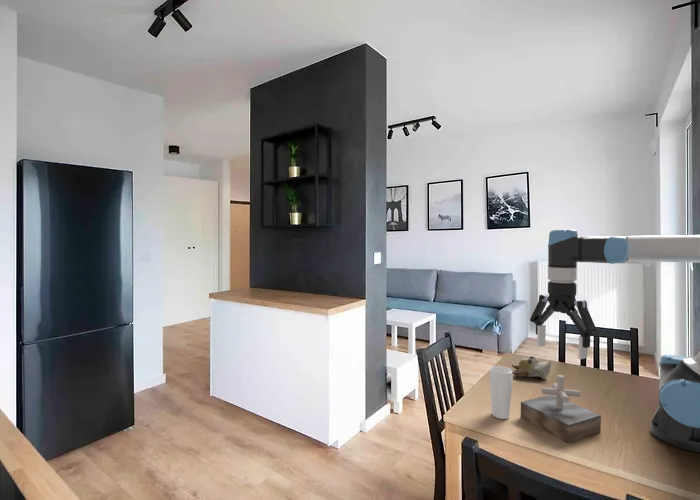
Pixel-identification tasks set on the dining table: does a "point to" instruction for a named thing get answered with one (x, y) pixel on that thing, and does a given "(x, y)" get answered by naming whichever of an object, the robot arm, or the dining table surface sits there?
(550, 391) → the pipe connector
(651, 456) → the dining table surface
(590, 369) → the dining table surface
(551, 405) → the block
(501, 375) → the drinking glass
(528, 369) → the ceramic sculpture
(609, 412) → the dining table surface
